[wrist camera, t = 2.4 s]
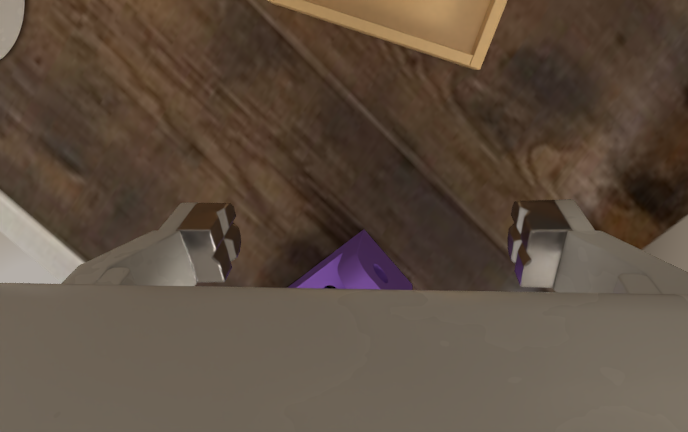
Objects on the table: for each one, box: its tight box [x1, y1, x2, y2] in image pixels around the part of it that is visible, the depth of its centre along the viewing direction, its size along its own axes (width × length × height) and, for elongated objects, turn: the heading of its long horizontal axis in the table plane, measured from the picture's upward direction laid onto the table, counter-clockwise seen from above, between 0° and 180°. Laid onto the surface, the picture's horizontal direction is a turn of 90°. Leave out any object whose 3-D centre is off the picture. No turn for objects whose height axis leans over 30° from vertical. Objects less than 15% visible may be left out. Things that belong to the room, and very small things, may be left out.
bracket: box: [288, 229, 412, 290], centre depth 38 cm, size 12×7×7 cm, turn 131°
